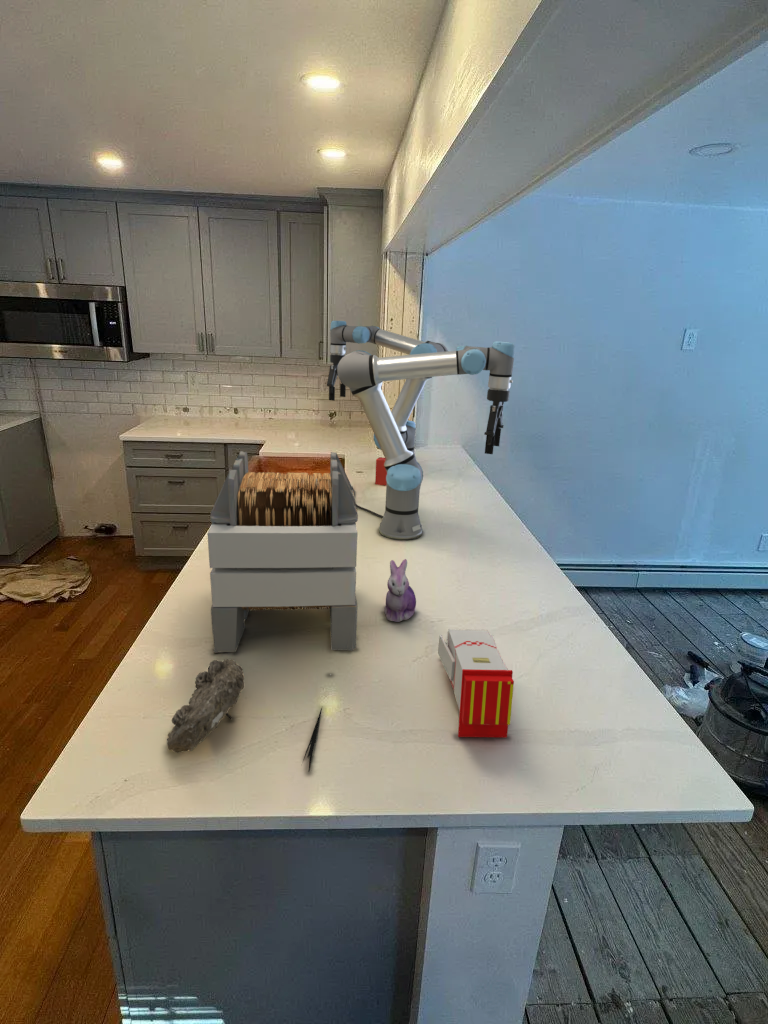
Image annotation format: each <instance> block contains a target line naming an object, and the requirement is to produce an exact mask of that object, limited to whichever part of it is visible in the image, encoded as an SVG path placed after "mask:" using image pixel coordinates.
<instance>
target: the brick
mask: <svg viewBox="0 0 768 1024" xmlns="http://www.w3.org/2000/svg"><path fill="white" fill-rule="evenodd" d="M385 460H386V459H385V457H383V456H382V457H381V456H379V457H378V458H376V459H375V482H374V484H375V485H377V486H385V487H386V484H387V481H386V476H387V471H386V469H385V467H384V463H385Z"/></svg>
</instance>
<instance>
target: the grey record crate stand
mask: <svg viewBox="0 0 768 1024" xmlns="http://www.w3.org/2000/svg"><path fill="white" fill-rule="evenodd" d="M329 465H330V466H329V467H330V469H329V470H330V472H324V473H321V472H313V474H309V473H308V472H286V473H285V472H284V473H283V472H274V471H273V472H269V471H266V472H264V471H263V472H260V471H259V472H258V471H257V472H255V471H249V459H248V451H242V450H240V451H239V453H238V455H237V457H236V458H235V460H234V463H233V465H232V467H231V468H230V469H229V471H228V473H227V475H226V477H225V480H224V482H223V484H222V487H221V489H220V491H219V493H218V496H217V498H216V500H215V502H214V504H213V507H212V508H211V511H210V514H209V519H210V523H211V525H210V527H209V529H208V531H207V532H206V534H207V548H208V562H209V563H208V565H209V569H211V570H210V573H209V575H210V576H209V577H210V590H211V591H210V592H211V593H210V594H211V606H210V617H211V633H212V637H213V638H212V639H213V649H212V652H213V653H214V654H215V653H216V654H220V653H236V652H237V649H238V647H239V645H240V642H241V639H242V637H243V635H244V632H245V625H246V624H245V621H247V619H248V615H249V611H268V610H270V611H273V610H274V611H275V610H277V611H278V610H279V611H280V610H284V611H286V610H290V611H291V610H294V611H295V610H325V609H326V610H329V619H330V621H329V622H330V623H329V625H330V626H329V627H330V628H329V629H330V650H331V651H351V652H353V651H354V650H355V649H357V638H358V635H357V631H358V602H357V601H358V600H357V593H356V590H357V589H356V588H357V569H356V568H357V555H358V553H357V551H358V529H357V522H358V519H359V513H358V508H357V507H356V504H357V502H356V497H355V495H354V492H355V489H354V487H353V485H352V484H351V481H350V479H349V478H348V475H347V473H346V471H345V469H344V466H343V464H342V461H341V460H340V458H339V456H338V453H337V452H333V451H330V463H329ZM352 487H353V488H352ZM353 489H354V490H353Z"/></svg>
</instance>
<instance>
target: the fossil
mask: <svg viewBox="0 0 768 1024" xmlns="http://www.w3.org/2000/svg"><path fill="white" fill-rule="evenodd" d="M243 670H244V669H243V667H242V665H240V664H237V662H236V661H235V660H234V659H232V658H231V659H227V658H226V659H224V660H223V661H222V660H217V659H212V660H211V661H210V663H209V665H208V666H207V671H201V672H199V673H198V674H197V675H196V676H195V680H194V684H195V685H194V687H195V689H194V690H193V693H192V694H191V697H190V698H189V700H188V704H184V705H182V706H181V707H180V709H177V710H176V711H175V713H174V715H173V716H172V718H171V723H172V724H173V727H172V730H171V731H170V732H168V734H167V738H166V741H167V742H166V745H167V749H168V750H169V751H173V752H174V753H176V754H178V753H182V752H188V751H189V752H192V751H193V750H195V748H196V747H197V746H199V744H200V743H201V742H203V741H204V740H205V739H206V738H207V737H208V736H209V735H210V734H211V733H212V732H214V730H215V729H217V727H218V726H219V724H220V722H221V721H222V720H223V719H224V718H225V716H226V717H227V719H229V720H233V717H232V715H230V714H229V710H230V709H231V708H234V706H235V704H236V703H237V702H238V699H239V697H240V695H241V693H242V691H243V690H245V689H244V688H245V675H244V671H243Z"/></svg>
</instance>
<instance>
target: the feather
mask: <svg viewBox="0 0 768 1024" xmlns="http://www.w3.org/2000/svg"><path fill="white" fill-rule="evenodd" d="M329 675H330V676H331V675H332V674H331V673H330V674H329ZM322 710H323V707H321V708H320V710H319V713H318V716H317V719H316V723H315V725H314V728H313V731H312V733H311V737H310V739H309V742H308V745H307V748H306V751H305V754H304V757H303V760H302V763H301V767H302V765H303V763H304V761H305V758H308V759H309V760H308V762H307V763H308V764H307V766H308V771H310V770H311V766H312V765H311V764H312V760H313V757H315V756H314V755H315V751H316V749H315V746H317V739H318V733H319V729H320V722H321V717H322V712H323V711H322ZM313 754H314V755H313ZM306 755H307V757H306Z"/></svg>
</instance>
